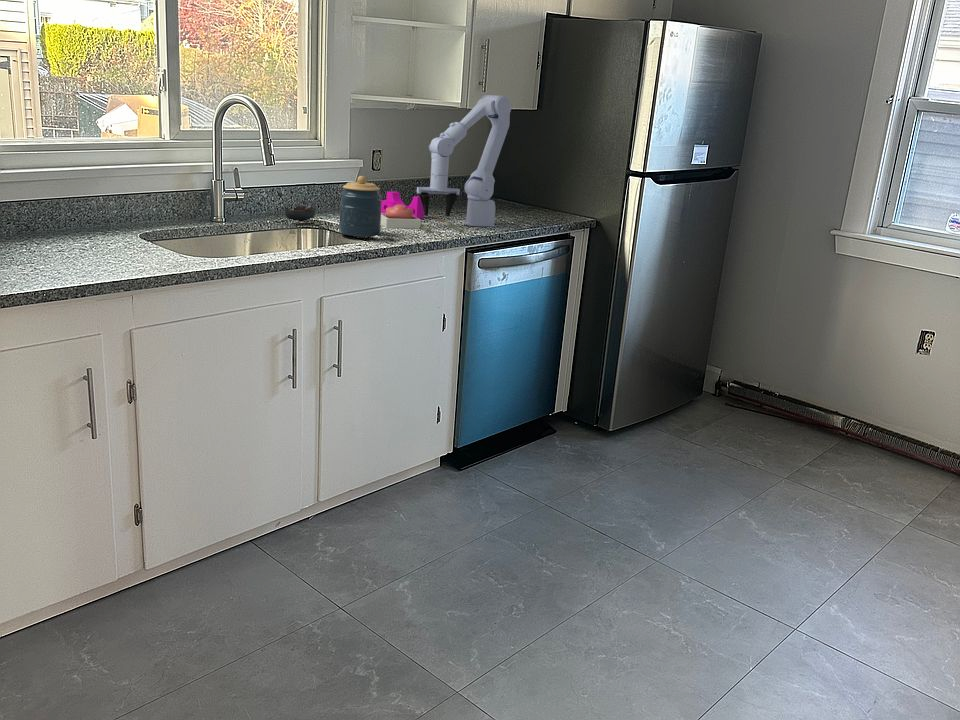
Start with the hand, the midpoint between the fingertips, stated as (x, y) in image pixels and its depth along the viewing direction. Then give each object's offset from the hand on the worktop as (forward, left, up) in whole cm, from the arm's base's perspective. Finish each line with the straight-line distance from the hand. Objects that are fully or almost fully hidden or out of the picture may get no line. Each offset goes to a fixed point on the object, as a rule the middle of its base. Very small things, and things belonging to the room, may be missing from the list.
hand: (436, 215), depth 297 cm
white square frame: (+13, -2, -4) cm, 13 cm away
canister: (+30, +16, -4) cm, 34 cm away
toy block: (+6, -20, -3) cm, 21 cm away
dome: (+13, -2, -4) cm, 13 cm away
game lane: (0, -7, -4) cm, 8 cm away
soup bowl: (+43, -17, -7) cm, 47 cm away
